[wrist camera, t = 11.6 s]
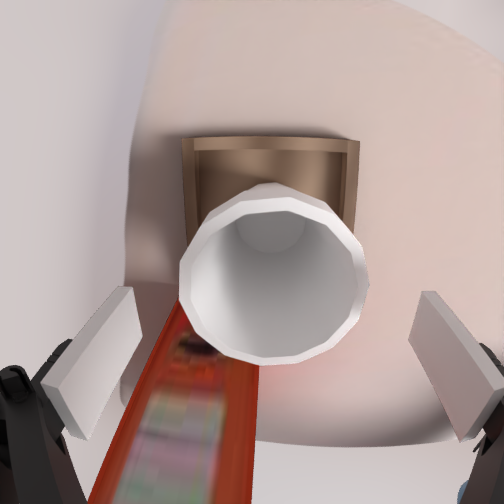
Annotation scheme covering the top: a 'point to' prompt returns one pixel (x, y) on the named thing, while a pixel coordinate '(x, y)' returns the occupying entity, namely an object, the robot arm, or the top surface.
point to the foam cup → (273, 277)
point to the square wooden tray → (268, 172)
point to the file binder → (184, 427)
